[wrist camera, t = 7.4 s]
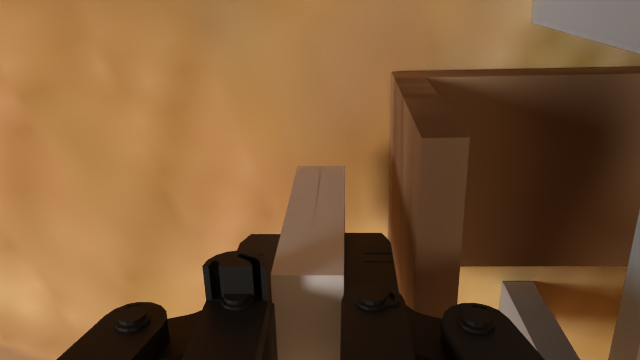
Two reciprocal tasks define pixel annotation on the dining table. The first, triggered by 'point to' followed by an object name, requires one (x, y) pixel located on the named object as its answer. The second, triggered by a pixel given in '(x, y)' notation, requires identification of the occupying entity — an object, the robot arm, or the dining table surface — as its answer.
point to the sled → (510, 173)
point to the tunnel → (636, 302)
